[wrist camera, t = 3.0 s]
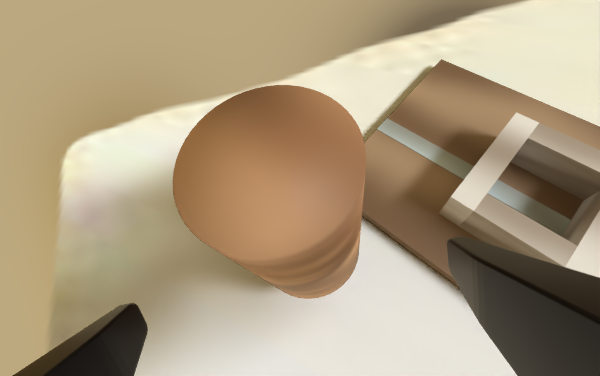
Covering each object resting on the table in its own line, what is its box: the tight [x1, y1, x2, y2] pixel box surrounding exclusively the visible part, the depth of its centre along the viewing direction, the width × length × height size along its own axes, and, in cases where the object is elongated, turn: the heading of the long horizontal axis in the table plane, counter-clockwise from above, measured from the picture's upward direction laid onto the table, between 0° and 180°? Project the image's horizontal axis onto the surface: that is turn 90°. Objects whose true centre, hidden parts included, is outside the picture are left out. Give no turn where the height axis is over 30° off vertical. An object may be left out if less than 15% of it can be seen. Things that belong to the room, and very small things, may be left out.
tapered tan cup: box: [173, 85, 366, 298], centre depth 14 cm, size 6×6×12 cm
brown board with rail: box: [362, 59, 600, 286], centre depth 17 cm, size 14×22×3 cm, turn 47°
